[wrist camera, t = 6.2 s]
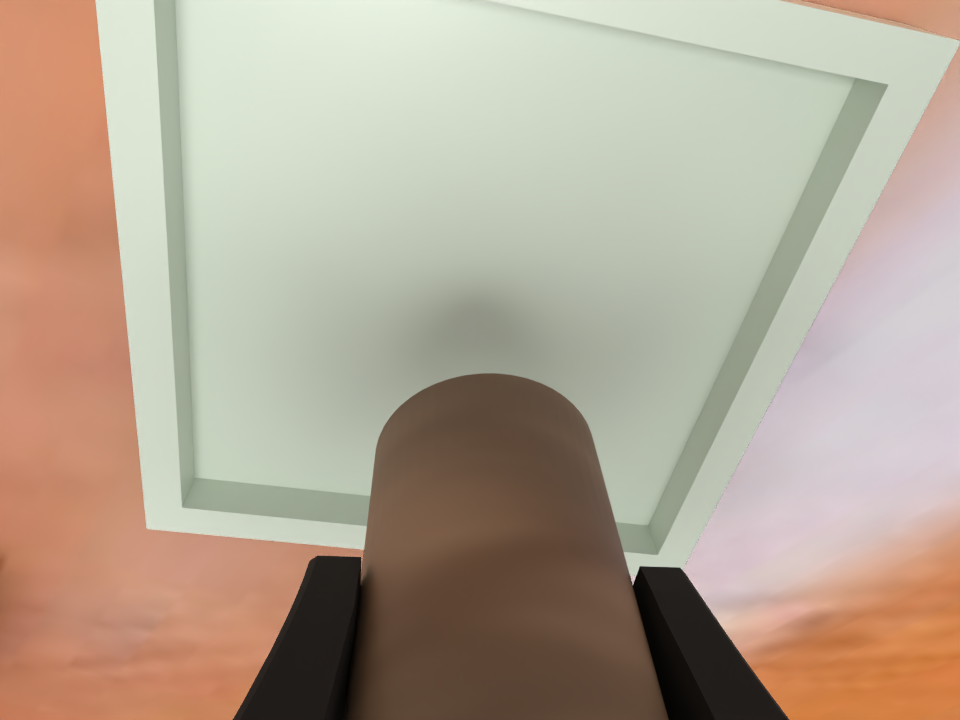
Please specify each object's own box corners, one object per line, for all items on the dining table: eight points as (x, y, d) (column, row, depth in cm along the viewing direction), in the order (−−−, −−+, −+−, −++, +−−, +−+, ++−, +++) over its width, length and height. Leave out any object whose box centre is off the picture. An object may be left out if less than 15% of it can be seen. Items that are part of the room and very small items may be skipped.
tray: (905, 23, 15) (960, 40, 14) (661, 531, 24) (677, 579, 22) (126, -151, 13) (80, -156, 11) (168, 479, 22) (146, 528, 20)
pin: (613, 378, 12) (773, 843, 6) (575, 540, 14) (667, 994, 8) (375, 368, 12) (308, 849, 6) (374, 534, 14) (326, 1003, 8)
